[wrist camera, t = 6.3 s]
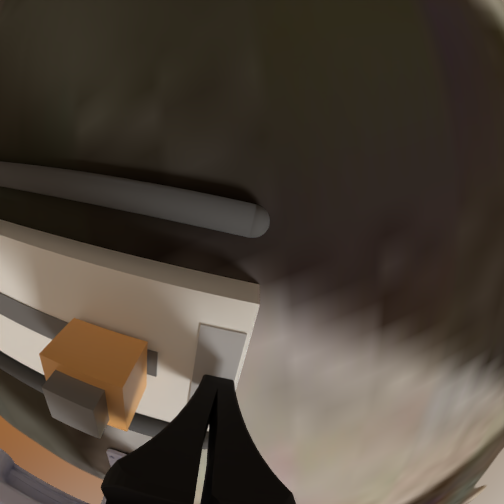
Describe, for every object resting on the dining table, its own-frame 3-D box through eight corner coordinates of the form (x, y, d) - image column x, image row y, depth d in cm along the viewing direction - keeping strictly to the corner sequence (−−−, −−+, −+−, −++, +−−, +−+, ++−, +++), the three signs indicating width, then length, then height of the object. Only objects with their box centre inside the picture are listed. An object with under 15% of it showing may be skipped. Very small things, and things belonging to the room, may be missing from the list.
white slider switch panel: (225, 410, 16) (222, 434, 14) (-25, 313, 15) (-40, 324, 13) (259, 284, 14) (259, 305, 12) (-39, 207, 13) (-59, 213, 11)
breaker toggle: (146, 386, 13) (119, 451, 9) (79, 362, 13) (41, 416, 9) (147, 341, 12) (111, 409, 8) (74, 317, 12) (24, 370, 8)
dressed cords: (213, 439, 18) (210, 454, 16) (-14, 348, 17) (-22, 356, 15) (272, 205, 13) (273, 211, 11) (-36, 156, 12) (-49, 159, 10)
